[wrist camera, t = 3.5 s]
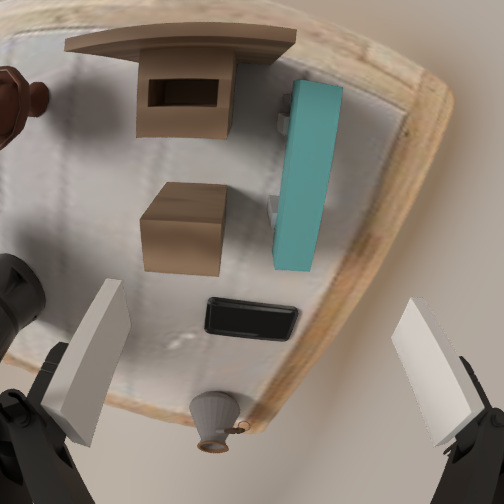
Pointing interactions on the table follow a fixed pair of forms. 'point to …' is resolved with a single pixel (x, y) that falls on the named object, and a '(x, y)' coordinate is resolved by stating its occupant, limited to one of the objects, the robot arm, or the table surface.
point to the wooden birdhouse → (187, 70)
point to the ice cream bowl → (18, 103)
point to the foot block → (185, 229)
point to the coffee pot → (215, 420)
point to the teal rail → (305, 172)
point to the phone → (249, 319)
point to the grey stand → (272, 200)
